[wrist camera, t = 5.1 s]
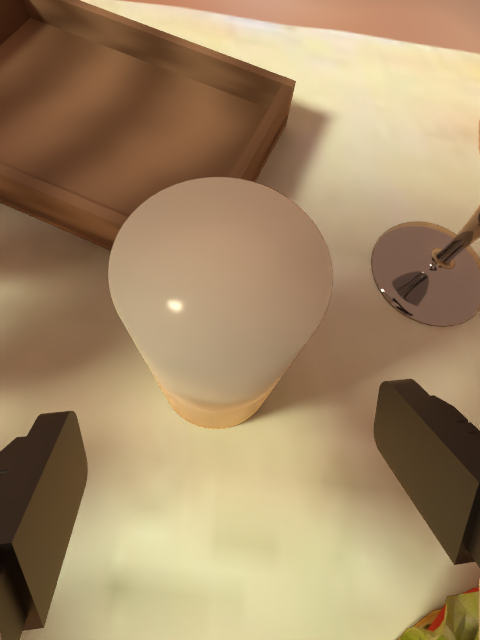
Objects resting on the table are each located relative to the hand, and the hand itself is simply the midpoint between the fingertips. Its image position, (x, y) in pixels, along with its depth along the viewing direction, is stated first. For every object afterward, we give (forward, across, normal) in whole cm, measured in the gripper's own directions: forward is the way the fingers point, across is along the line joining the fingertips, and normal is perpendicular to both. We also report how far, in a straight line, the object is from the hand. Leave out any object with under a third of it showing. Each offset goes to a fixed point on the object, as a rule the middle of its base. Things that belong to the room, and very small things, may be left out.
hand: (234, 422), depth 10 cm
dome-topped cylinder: (+9, 0, +4) cm, 10 cm away
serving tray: (+20, +6, -8) cm, 22 cm away
